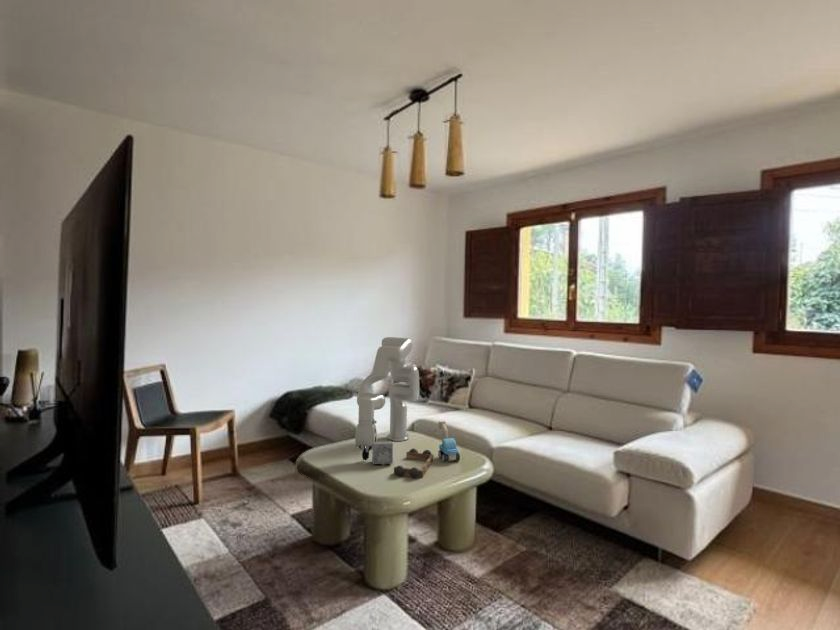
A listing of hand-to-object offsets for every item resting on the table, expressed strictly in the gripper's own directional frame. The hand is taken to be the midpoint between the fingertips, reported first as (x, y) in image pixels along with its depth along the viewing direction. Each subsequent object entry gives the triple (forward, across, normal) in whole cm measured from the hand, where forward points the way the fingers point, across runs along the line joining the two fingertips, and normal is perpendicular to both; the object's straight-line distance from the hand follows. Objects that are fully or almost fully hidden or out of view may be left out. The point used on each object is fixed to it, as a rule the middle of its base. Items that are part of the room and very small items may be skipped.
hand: (365, 459), depth 224 cm
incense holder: (+1, -8, -1) cm, 9 cm away
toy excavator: (+1, -37, -18) cm, 41 cm away
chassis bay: (+1, -25, 0) cm, 25 cm away
